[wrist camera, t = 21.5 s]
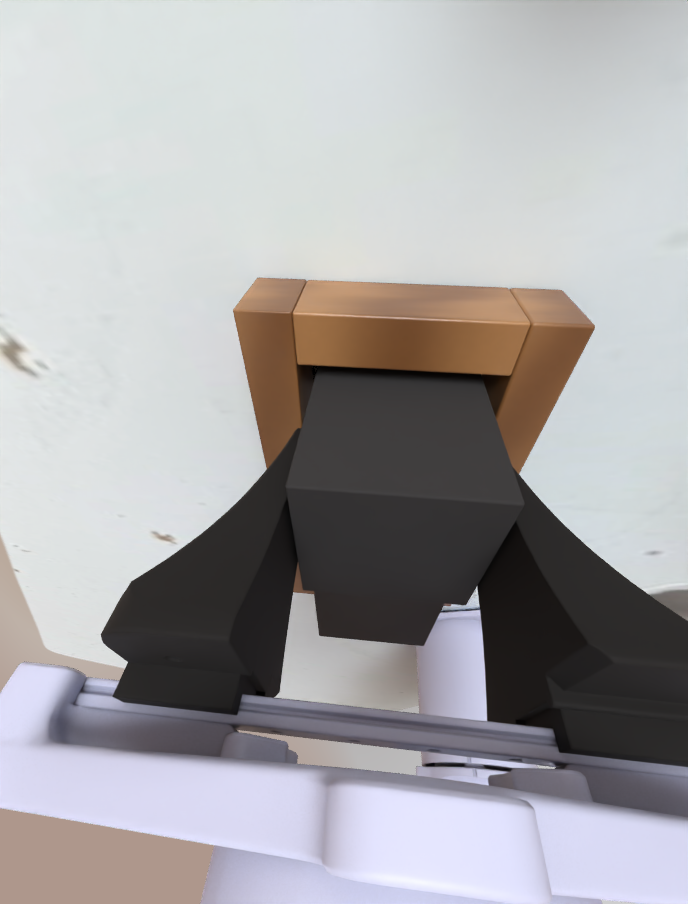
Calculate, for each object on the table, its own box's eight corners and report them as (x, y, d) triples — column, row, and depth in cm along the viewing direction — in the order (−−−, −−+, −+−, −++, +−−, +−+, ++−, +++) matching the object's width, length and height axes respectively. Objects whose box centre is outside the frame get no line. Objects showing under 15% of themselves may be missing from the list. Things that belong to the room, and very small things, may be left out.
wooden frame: (563, 289, 11) (598, 325, 9) (445, 567, 23) (450, 606, 21) (256, 277, 11) (231, 309, 10) (300, 555, 23) (292, 592, 22)
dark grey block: (433, 492, 18) (446, 602, 14) (417, 547, 21) (424, 646, 17) (329, 484, 18) (313, 590, 14) (331, 540, 22) (318, 636, 18)
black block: (479, 367, 11) (526, 504, 8) (446, 475, 15) (466, 606, 11) (319, 359, 12) (284, 486, 8) (324, 467, 15) (302, 591, 11)
